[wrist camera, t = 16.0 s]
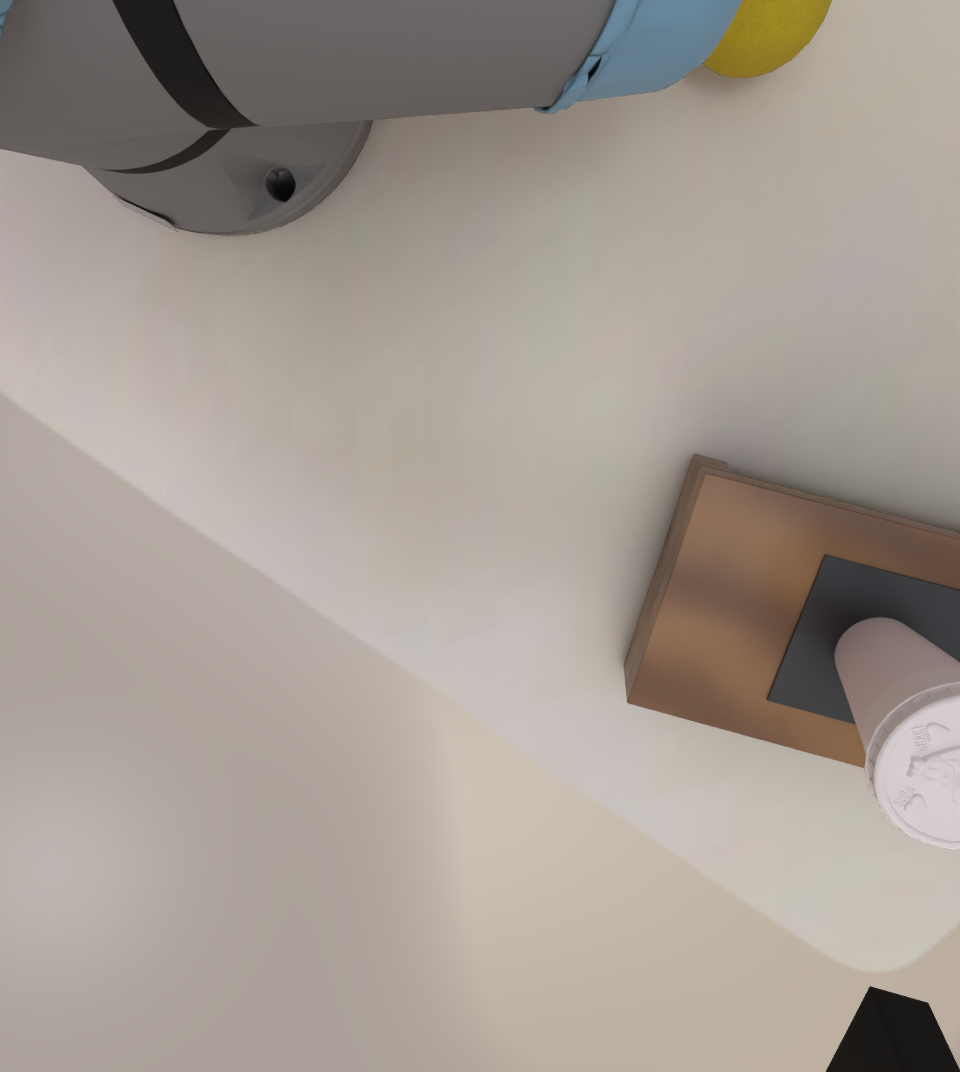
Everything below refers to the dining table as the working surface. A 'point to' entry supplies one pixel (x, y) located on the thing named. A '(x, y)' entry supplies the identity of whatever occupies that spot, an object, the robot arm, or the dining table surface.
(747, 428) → the dining table surface
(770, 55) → the lemon
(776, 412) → the dining table surface
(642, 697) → the wooden board with backrest
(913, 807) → the smoothie
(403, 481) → the dining table surface
